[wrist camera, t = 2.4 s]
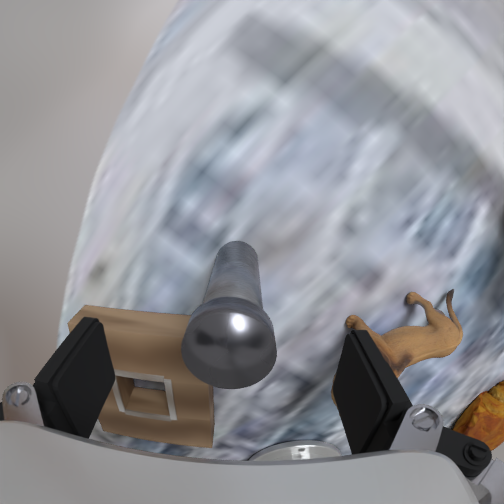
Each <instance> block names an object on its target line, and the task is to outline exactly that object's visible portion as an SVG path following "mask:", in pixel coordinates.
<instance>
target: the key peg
mask: <svg viewBox="0 0 504 504" xmlns="http://www.w3.org/2000/svg"><path fill="white" fill-rule="evenodd" d="M181 354H182V358H183V361H184V363H185V365H186V367H187V368H188V370H189V371H190V372H191V373H192V374H193V375H194V376H195V377H196V378H198V379H199V380H201V381H202V382H204V383H206V384H209V385H211V386H214V387H218V388H224V389H239V388H244V387H248V386H251V385H253V384H256V383H257V382H259V381H261V380H262V379H263V378H265V377H266V376H267V375H268V374H269V372H270V371H271V370H272V368H273V366H274V364H275V361H276V357H277V350H276V342H275V336H274V329H273V325H272V322H271V320H270V318H269V316H268V315H267V314H266V312H265V311H264V310H263V306H262V296H261V286H260V276H259V266H258V257H257V254H256V252H255V250H254V249H253V248H252V247H251V246H250V245H249V244H247V243H245V242H241V241H233V242H229V243H227V244H225V245H224V246H223V247H222V248H221V249H220V250H219V252H218V254H217V258H216V261H215V264H214V267H213V271H212V274H211V277H210V281H209V284H208V288H207V291H206V294H205V298H204V301H203V304H202V305H201V306H199V307H198V308H197V309H196V310H195V311H194V312H193V314H192V315H191V317H190V319H189V322H188V325H187V328H186V331H185V334H184V337H183V340H182V344H181Z"/></svg>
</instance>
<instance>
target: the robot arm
mask: <svg viewBox="0 0 504 504" xmlns="http://www.w3.org/2000/svg"><path fill="white" fill-rule="evenodd" d="M34 380H35V383H34V385H33V386H32V385H31V384H29V383H27V382H17V383H14V384H11V385H10V386H8V387H7V389H5V391H4V393H3V395H2V402H1V403H0V504H504V463H503V462H502V461H501V460H499V459H498V458H496V459H495V460H493V459H492V454H491V450H490V448H489V447H488V445H486V444H485V443H484V442H482V441H480V440H478V439H475V438H472V437H469V436H467V435H464V434H461V433H459V432H456V431H453V430H451V429H448V428H446V427H443V417H442V415H441V414H440V412H439V411H438V410H437V409H435V408H434V407H432V406H429V405H425V404H418V405H414V406H413V405H412V403H411V402H410V400H409V398H408V396H407V394H406V393H405V391H404V389H403V387H402V386H401V384H400V382H399V381H398V379H397V377H396V375H395V374H394V372H393V370H392V368H391V367H390V365H389V364H388V362H386V361H385V359H384V357H383V356H382V354H381V352H380V351H379V349H378V347H377V346H376V344H375V342H374V341H373V339H372V337H371V336H370V334H369V332H368V331H367V330H352V331H351V333H350V334H347V335H346V338H345V342H344V346H343V350H342V354H341V358H340V361H339V365H338V369H337V372H336V376H335V379H334V383H333V395H334V398H335V401H336V404H337V407H338V410H339V414H340V417H341V420H342V423H343V426H344V429H345V433H346V436H347V439H348V442H349V446H350V449H351V452H352V455H345V456H341V452H340V451H339V449H338V448H337V447H335V446H334V445H332V444H329V443H326V442H322V441H314V440H298V441H290V442H285V443H280V444H277V445H273V446H270V447H268V448H266V449H263V450H261V451H260V452H258V453H256V454H255V455H253V456H252V457H251V458H250V459H249V461H237V460H216V459H202V458H191V457H182V456H174V455H166V454H160V453H153V452H147V451H141V450H136V449H130V448H125V447H121V446H116V445H112V444H107V443H103V442H99V441H95V440H91V439H89V437H90V435H91V432H92V430H93V428H94V426H95V423H96V421H97V419H98V417H99V414H100V412H101V410H102V408H103V406H104V404H105V401H106V399H107V397H108V395H109V393H110V391H111V389H112V387H113V384H114V382H115V372H114V368H113V364H112V361H111V357H110V353H109V349H108V344H107V340H106V336H105V331H104V327H103V324H102V323H101V322H99V320H98V319H97V318H92V317H83V318H82V319H81V320H80V322H79V323H78V324H77V325H76V326H75V328H74V329H73V330H72V331H71V333H70V334H69V335H68V336H67V337H66V339H65V340H64V341H63V342H62V344H61V345H60V346H59V348H58V349H57V350H56V351H55V353H54V354H53V355H52V357H51V358H50V359H49V361H48V362H47V363H46V364H45V366H44V367H43V368H42V370H41V371H40V372H39V374H38V375H37V376H36V378H35V379H34Z"/></svg>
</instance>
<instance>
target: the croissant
mask: <svg viewBox="0 0 504 504" xmlns="http://www.w3.org/2000/svg"><path fill="white" fill-rule="evenodd" d="M453 431H456V432H459V433H461V434H464V435H467V436H469V437H472V438H475V439H478V440H480V441H482V442H484V443H485V444H486V445H488V447H489V448H490V450H491V451H492V450H494V449H495V448H496V447H498V446H499V445H500V444H501V443H502V442H503V441H504V381H502V382H499V384H498V385H496V386H494V387H492V388H491V389H490V390H489V391H485V392H483V393H481V394H480V395H478V397H477V398H476V399H475V400H474V401H473V402H472V403H471V404H470V405H469V407H468V408H467V409H466V410H465V411H464V413H463V414H462V415H461V417H460V418H459V419H458V420H457V422H456V424H455V426H454V428H453Z"/></svg>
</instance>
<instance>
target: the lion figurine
mask: <svg viewBox="0 0 504 504" xmlns="http://www.w3.org/2000/svg"><path fill="white" fill-rule="evenodd" d="M453 293H454V289H452V290H450V291H449V292H448V293H447V297H446V304H447V309H448V312H449V316H450V318H451V320H452V321H451V320H450V319H449V318H448V317H446V316H445V315H444V313H443V312H442V311H440V310H438V309H436V310H435V309H434V308H433V306H432V304H431V302H429V301H427V300H425V299H424V298H422V297H421V296H420V295H419V294H417V293H415V292H410V293H409V294H408V295H407V297H406V299H407V300H406V301H407V303H408V304H410V305H412V304H419V305H421V306H422V307H423V308H424V310H425V313H426V317H427V320H428V323H429V324H428V325H427V326H425V327H420V326H404V327H399V328H396V329H393V330H391V331H389V332H387V333H385V334H383V335H382V336H380V335H379V334H377V333H375V332H374V331H372V330H371V329H370V328H369V327H368V326H367V325H366V324H365V323H364V321H363V320H362V319H361V318H359V317H358V316H356V315H350V316H349V317H348V318H347V320H346V324H347V327H348V328H354V329H355V330H367V331H368V332H369V334H370V336H371V337H372V339H373V341H374V342H375V344H376V346H377V347H378V349H379V351H380V352H381V354H382V356H383V357H384V359H385V361H386V362H388V364H389V365H390V367H391V368H392V370H393V372H394V374H395V375H396V377H397V378H398V377H399V376H400V374H401V373H402V372H403V371H404V369H405V368H406V367H408V366H410V365H413V364H415V363H417V362H420V361H422V360H425V359H429V358H441V357H445V356H448V355H450V354H451V353H452V352H453V351H454V350H455V349H456V348H457V346H458V345H459V344H460V342H461V340H462V337H463V331H462V328H461V325H460V323H459V321H458V319H457V318H456V315H455V313H454V311H453V309H452V304H451V301H452V298H453ZM335 376H336V374H335ZM335 376H334V379H335ZM334 379H333V383H334ZM331 394H332V400H333V402H334V404H335V405H336V406H337V404H336V401H335V398H334V395H333V386H332V390H331ZM337 409H338V407H337ZM338 411H339V410H338ZM339 415H340V414H339Z"/></svg>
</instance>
